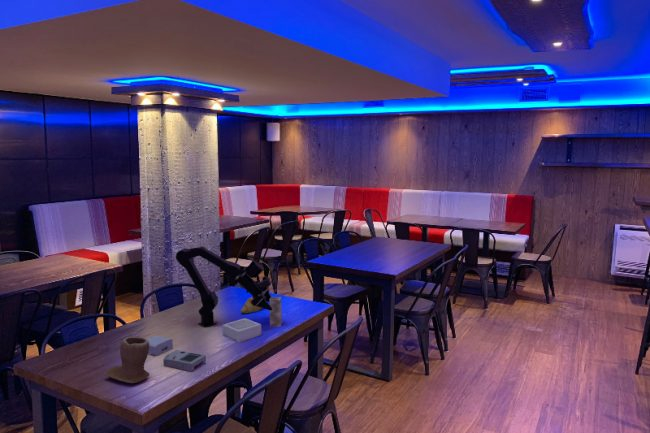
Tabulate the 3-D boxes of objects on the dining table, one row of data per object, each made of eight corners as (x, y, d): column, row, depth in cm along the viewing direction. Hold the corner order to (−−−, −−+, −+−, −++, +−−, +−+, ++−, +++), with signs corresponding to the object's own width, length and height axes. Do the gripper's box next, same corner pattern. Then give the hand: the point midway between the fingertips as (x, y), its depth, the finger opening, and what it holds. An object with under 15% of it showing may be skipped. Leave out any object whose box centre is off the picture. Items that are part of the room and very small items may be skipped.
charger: (148, 342, 221) (173, 349, 214) (131, 349, 213) (156, 356, 206) (147, 332, 221) (172, 338, 213) (130, 339, 213) (155, 345, 205)
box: (222, 335, 228) (222, 324, 228) (245, 328, 237) (244, 318, 237) (238, 342, 220) (238, 331, 219) (261, 335, 229) (261, 324, 228)
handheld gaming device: (177, 357, 205) (176, 348, 205) (206, 363, 199) (205, 354, 199) (161, 366, 197) (161, 357, 197) (191, 372, 191) (191, 363, 191)
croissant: (246, 322, 256) (251, 310, 253) (232, 310, 260) (237, 298, 257) (270, 309, 274) (275, 298, 272) (256, 299, 278) (261, 287, 275)
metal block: (270, 326, 239) (269, 300, 238) (271, 322, 244) (270, 296, 243) (280, 326, 239) (279, 300, 238) (281, 322, 244) (281, 297, 243)
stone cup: (158, 375, 188) (155, 337, 186) (131, 388, 178) (129, 348, 176) (130, 367, 196) (128, 330, 194) (103, 379, 186) (101, 340, 184)
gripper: (257, 277, 229) (282, 301, 231) (263, 268, 248) (286, 289, 249) (241, 294, 231) (265, 317, 232) (248, 283, 249) (271, 305, 250)
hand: (273, 306), depth 241 cm, fingers open, 9 cm apart
